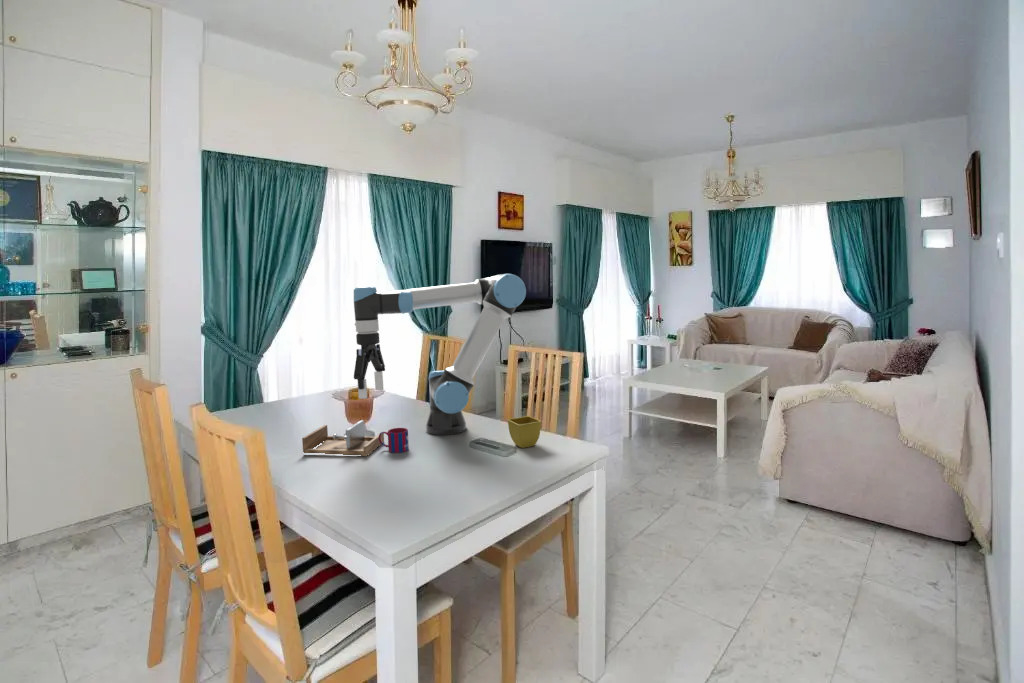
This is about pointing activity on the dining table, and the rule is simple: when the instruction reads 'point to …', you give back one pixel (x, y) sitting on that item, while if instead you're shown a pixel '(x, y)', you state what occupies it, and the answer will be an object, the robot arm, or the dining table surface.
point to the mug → (396, 440)
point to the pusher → (353, 435)
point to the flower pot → (524, 431)
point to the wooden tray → (337, 444)
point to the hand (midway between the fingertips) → (371, 394)
